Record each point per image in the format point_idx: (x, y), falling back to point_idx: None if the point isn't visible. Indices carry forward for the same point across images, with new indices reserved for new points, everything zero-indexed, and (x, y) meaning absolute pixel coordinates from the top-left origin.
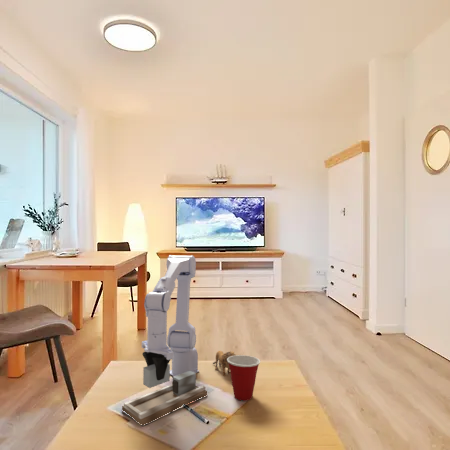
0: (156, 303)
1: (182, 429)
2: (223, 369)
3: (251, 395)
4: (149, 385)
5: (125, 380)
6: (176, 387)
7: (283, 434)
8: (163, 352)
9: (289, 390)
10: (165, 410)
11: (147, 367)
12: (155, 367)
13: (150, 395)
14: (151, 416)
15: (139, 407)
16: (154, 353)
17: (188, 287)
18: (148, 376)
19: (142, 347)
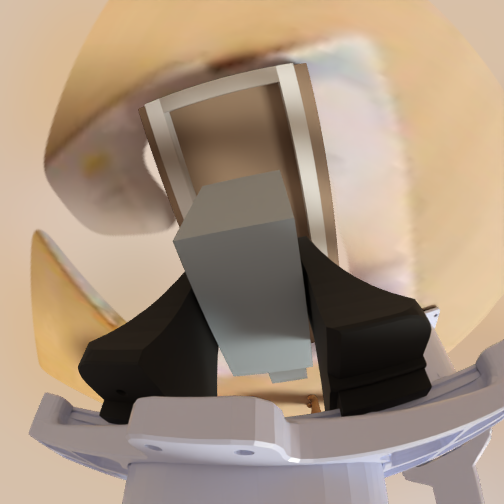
0: None
1: (88, 219)
2: (313, 408)
3: None
4: (202, 191)
5: (493, 186)
6: None
7: (56, 351)
8: (54, 440)
9: None
10: (172, 208)
11: (267, 249)
12: (183, 300)
13: (303, 196)
14: (151, 147)
15: (249, 122)
16: (327, 394)
17: None
18: (204, 210)
19: (497, 348)
